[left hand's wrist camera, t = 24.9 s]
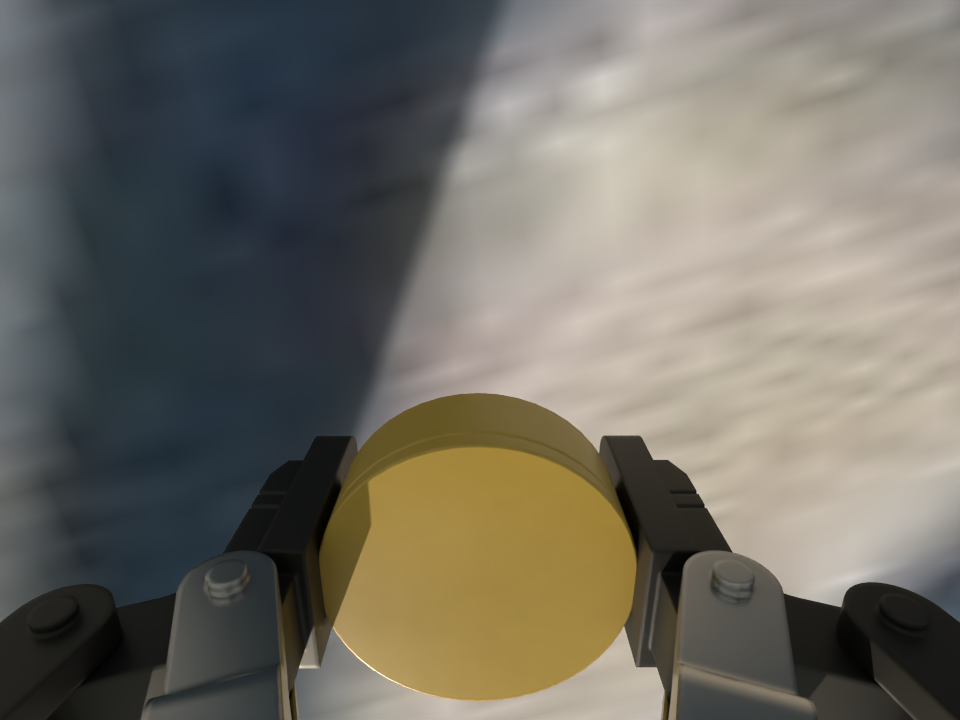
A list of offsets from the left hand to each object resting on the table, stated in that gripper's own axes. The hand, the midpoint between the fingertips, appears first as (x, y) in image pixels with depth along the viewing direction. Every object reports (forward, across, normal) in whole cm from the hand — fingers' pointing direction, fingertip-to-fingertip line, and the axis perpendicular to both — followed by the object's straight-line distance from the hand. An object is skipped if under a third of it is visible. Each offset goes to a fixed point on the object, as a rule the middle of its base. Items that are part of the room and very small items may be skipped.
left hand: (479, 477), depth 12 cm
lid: (-3, 0, 0) cm, 3 cm away
